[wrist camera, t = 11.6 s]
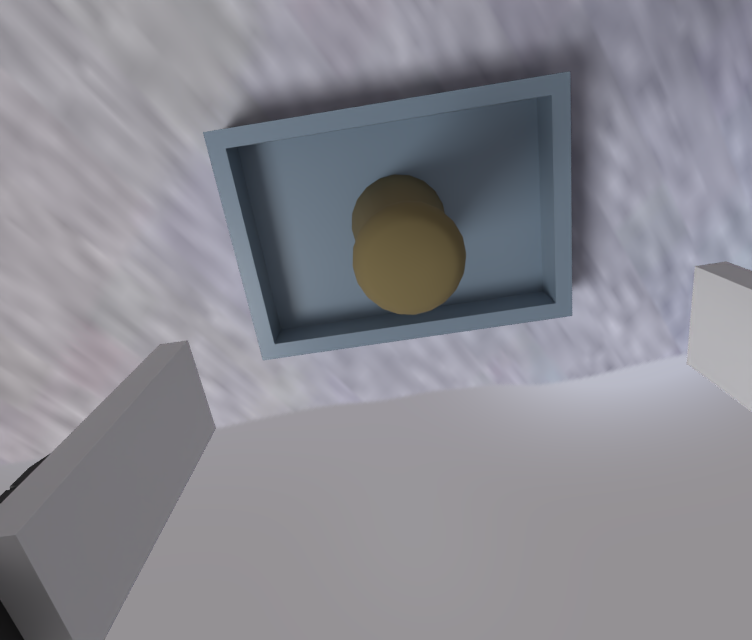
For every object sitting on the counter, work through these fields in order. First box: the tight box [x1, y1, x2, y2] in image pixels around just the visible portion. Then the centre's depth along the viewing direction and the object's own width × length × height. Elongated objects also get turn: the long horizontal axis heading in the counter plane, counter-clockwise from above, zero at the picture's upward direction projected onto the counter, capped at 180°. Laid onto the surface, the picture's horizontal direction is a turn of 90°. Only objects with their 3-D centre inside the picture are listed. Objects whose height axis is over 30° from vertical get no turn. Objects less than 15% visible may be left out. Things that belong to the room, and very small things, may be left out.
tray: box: [203, 71, 572, 360], centre depth 30 cm, size 20×14×4 cm
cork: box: [352, 174, 466, 315], centre depth 26 cm, size 6×6×11 cm
